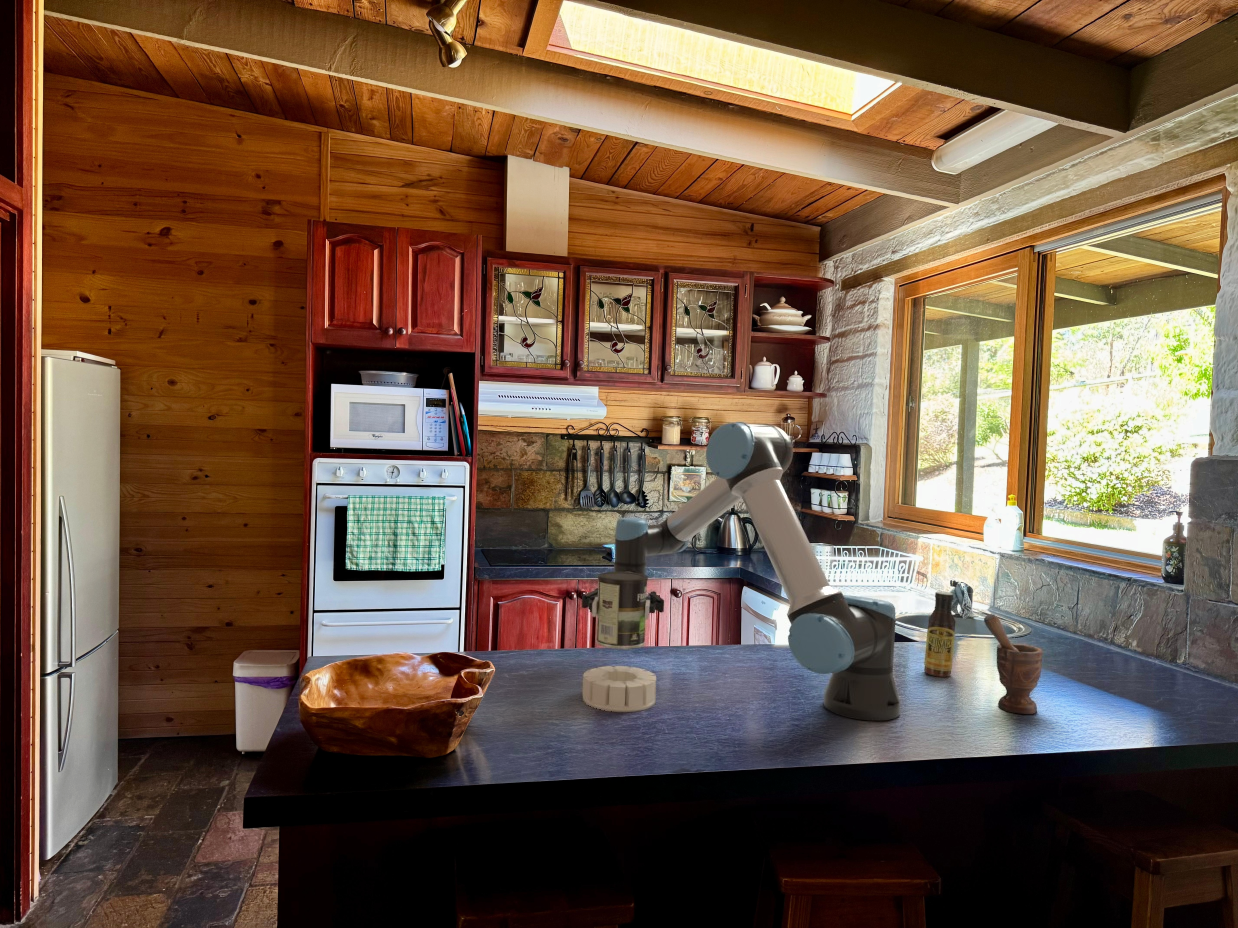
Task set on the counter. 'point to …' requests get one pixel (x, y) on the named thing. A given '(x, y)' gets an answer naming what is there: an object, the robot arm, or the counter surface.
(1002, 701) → the mortar and pestle
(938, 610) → the sauce bottle
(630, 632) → the coffee can
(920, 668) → the counter surface
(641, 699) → the cream cog ring
